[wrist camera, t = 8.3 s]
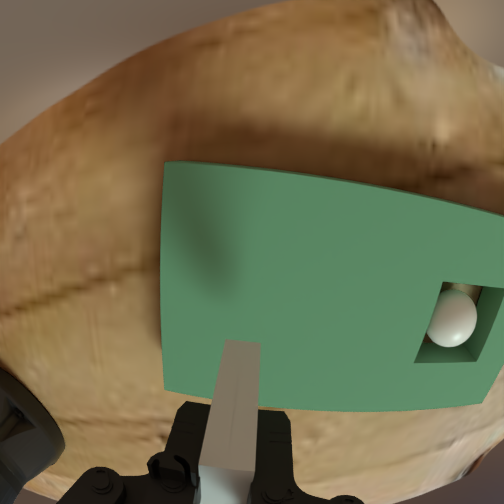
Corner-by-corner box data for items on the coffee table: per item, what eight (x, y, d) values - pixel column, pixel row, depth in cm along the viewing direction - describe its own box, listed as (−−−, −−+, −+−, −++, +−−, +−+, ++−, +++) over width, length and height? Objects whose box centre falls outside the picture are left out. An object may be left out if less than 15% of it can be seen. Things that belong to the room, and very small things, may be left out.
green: (174, 367, 21) (164, 389, 19) (179, 160, 17) (164, 161, 14) (469, 384, 20) (481, 403, 18) (529, 223, 16) (550, 231, 13)
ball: (406, 334, 18) (444, 363, 15) (423, 282, 17) (467, 308, 14) (437, 325, 19) (473, 350, 16) (453, 279, 18) (493, 300, 15)
